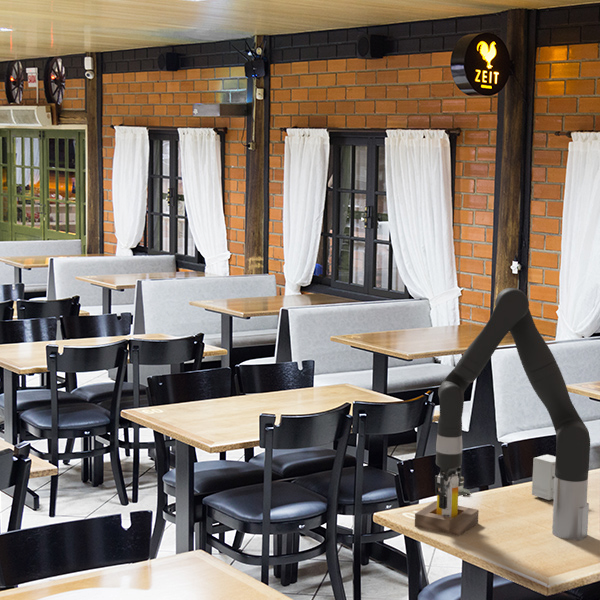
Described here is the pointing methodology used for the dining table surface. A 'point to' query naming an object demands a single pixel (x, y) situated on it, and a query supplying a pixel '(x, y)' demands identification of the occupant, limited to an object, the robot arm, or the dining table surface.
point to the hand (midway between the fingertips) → (447, 505)
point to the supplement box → (543, 476)
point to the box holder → (446, 520)
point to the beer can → (450, 499)
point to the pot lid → (462, 490)
